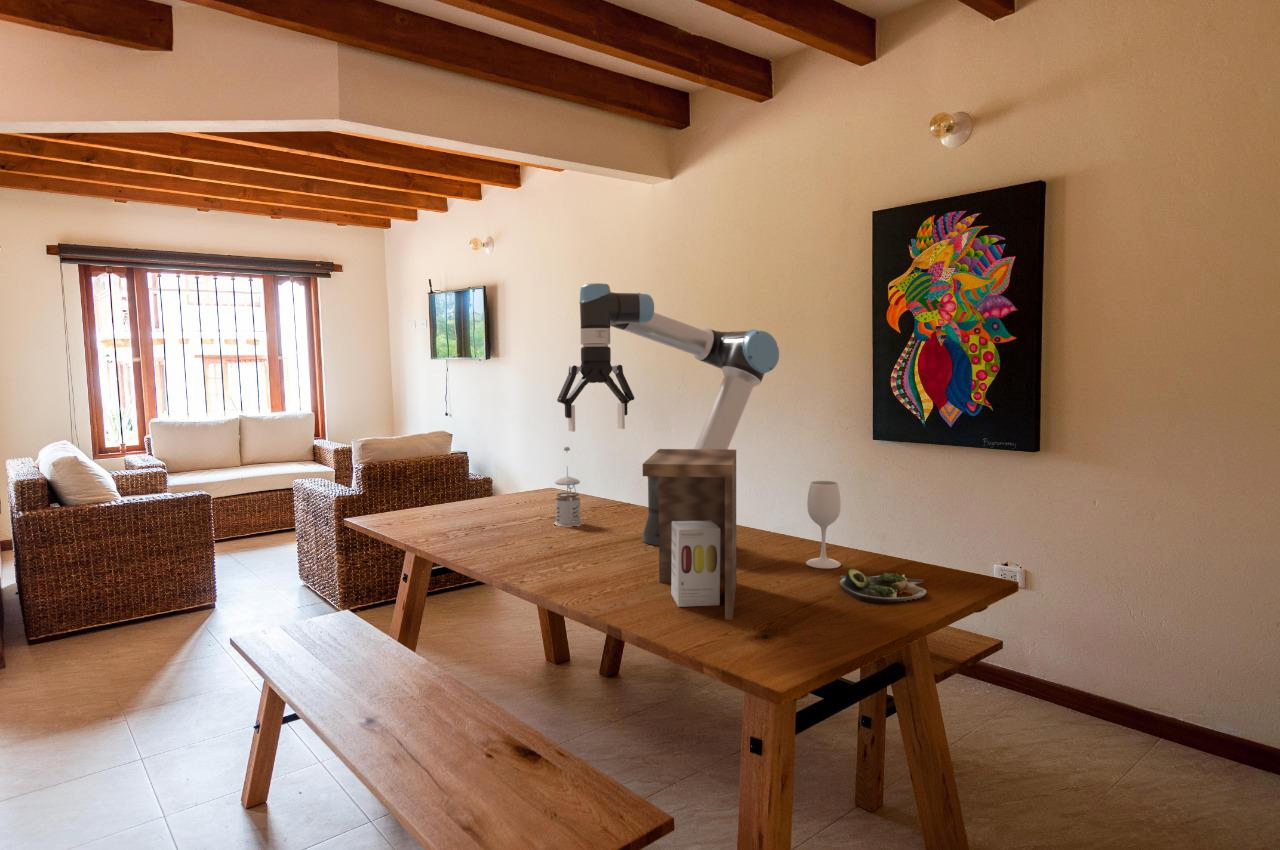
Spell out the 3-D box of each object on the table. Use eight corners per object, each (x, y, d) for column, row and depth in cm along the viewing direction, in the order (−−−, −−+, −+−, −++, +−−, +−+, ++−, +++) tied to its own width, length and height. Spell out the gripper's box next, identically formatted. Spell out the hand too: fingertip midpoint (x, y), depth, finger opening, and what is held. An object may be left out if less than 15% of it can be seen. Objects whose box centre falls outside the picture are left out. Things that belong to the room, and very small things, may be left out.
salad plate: (903, 578, 186) (903, 559, 186) (948, 600, 169) (948, 579, 168) (828, 584, 182) (828, 564, 181) (866, 607, 164) (867, 586, 164)
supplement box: (677, 607, 165) (676, 529, 163) (670, 594, 174) (669, 520, 172) (721, 605, 166) (721, 527, 164) (712, 592, 175) (711, 518, 174)
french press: (549, 527, 245) (547, 448, 243) (559, 519, 257) (557, 444, 255) (579, 527, 244) (578, 448, 242) (588, 520, 255) (586, 444, 253)
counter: (644, 616, 159) (642, 463, 157) (660, 580, 185) (659, 449, 182) (732, 619, 157) (732, 464, 154) (736, 583, 182) (736, 449, 180)
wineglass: (841, 569, 193) (842, 485, 191) (806, 568, 194) (806, 485, 193) (840, 560, 201) (840, 480, 199) (805, 559, 203) (806, 479, 201)
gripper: (554, 345, 187) (555, 433, 189) (646, 345, 198) (647, 428, 200) (543, 346, 194) (545, 431, 196) (633, 346, 205) (634, 426, 207)
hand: (596, 429), depth 198 cm, fingers open, 13 cm apart
